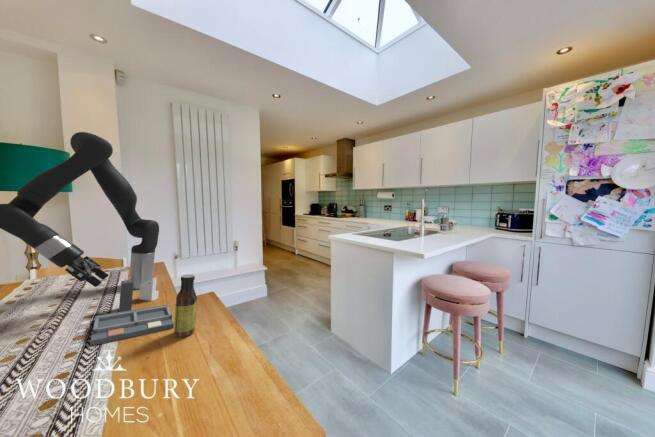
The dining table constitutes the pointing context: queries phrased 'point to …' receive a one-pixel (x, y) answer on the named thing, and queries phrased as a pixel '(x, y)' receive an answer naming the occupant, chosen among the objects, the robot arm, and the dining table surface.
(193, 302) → the sauce bottle
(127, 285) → the plug
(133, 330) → the grey tray
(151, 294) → the white wedge bracket
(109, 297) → the dining table surface
